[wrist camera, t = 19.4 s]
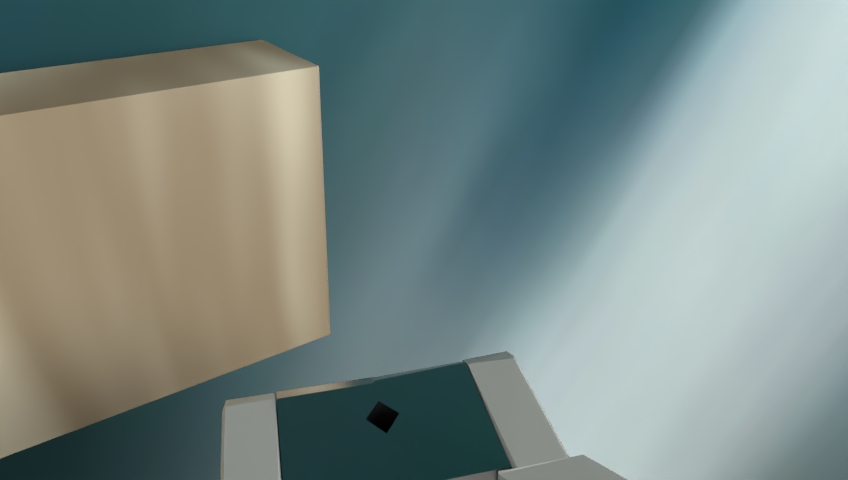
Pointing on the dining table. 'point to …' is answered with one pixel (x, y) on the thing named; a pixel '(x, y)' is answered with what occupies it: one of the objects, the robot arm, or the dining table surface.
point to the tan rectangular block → (154, 229)
